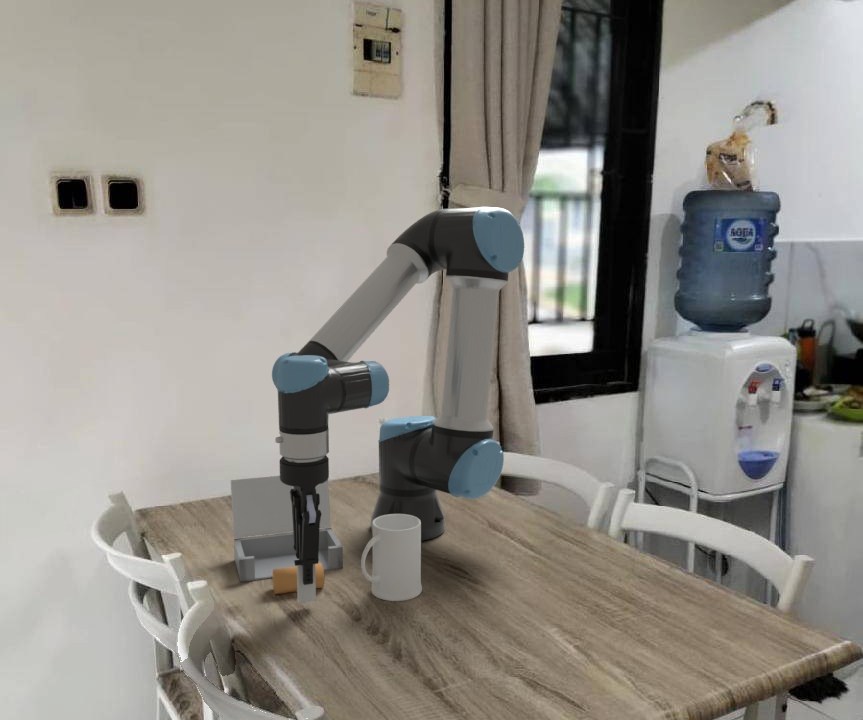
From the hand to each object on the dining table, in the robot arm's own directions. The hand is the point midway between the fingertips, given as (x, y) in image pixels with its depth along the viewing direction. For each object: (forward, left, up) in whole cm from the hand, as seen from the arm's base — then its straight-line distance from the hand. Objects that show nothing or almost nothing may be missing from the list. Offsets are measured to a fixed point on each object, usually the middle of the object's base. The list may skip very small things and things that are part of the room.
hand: (306, 599), depth 122 cm
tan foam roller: (0, -7, 0) cm, 7 cm away
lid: (0, -24, +8) cm, 26 cm away
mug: (-14, -1, -2) cm, 14 cm away
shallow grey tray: (0, -18, -1) cm, 18 cm away
